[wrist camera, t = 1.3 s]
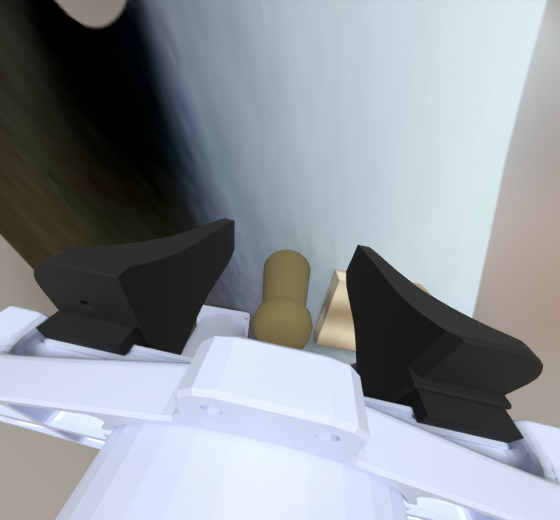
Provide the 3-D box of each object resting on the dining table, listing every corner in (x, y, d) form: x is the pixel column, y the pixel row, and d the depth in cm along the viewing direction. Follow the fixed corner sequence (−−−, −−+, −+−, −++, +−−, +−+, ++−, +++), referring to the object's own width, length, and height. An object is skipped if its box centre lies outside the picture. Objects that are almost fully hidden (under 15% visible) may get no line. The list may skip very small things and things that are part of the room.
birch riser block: (385, 342, 30) (392, 357, 28) (314, 330, 30) (316, 344, 28) (420, 284, 25) (432, 296, 23) (335, 269, 25) (339, 280, 23)
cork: (294, 296, 27) (293, 373, 18) (255, 276, 26) (232, 347, 17) (319, 264, 25) (335, 334, 15) (278, 241, 24) (266, 299, 14)
